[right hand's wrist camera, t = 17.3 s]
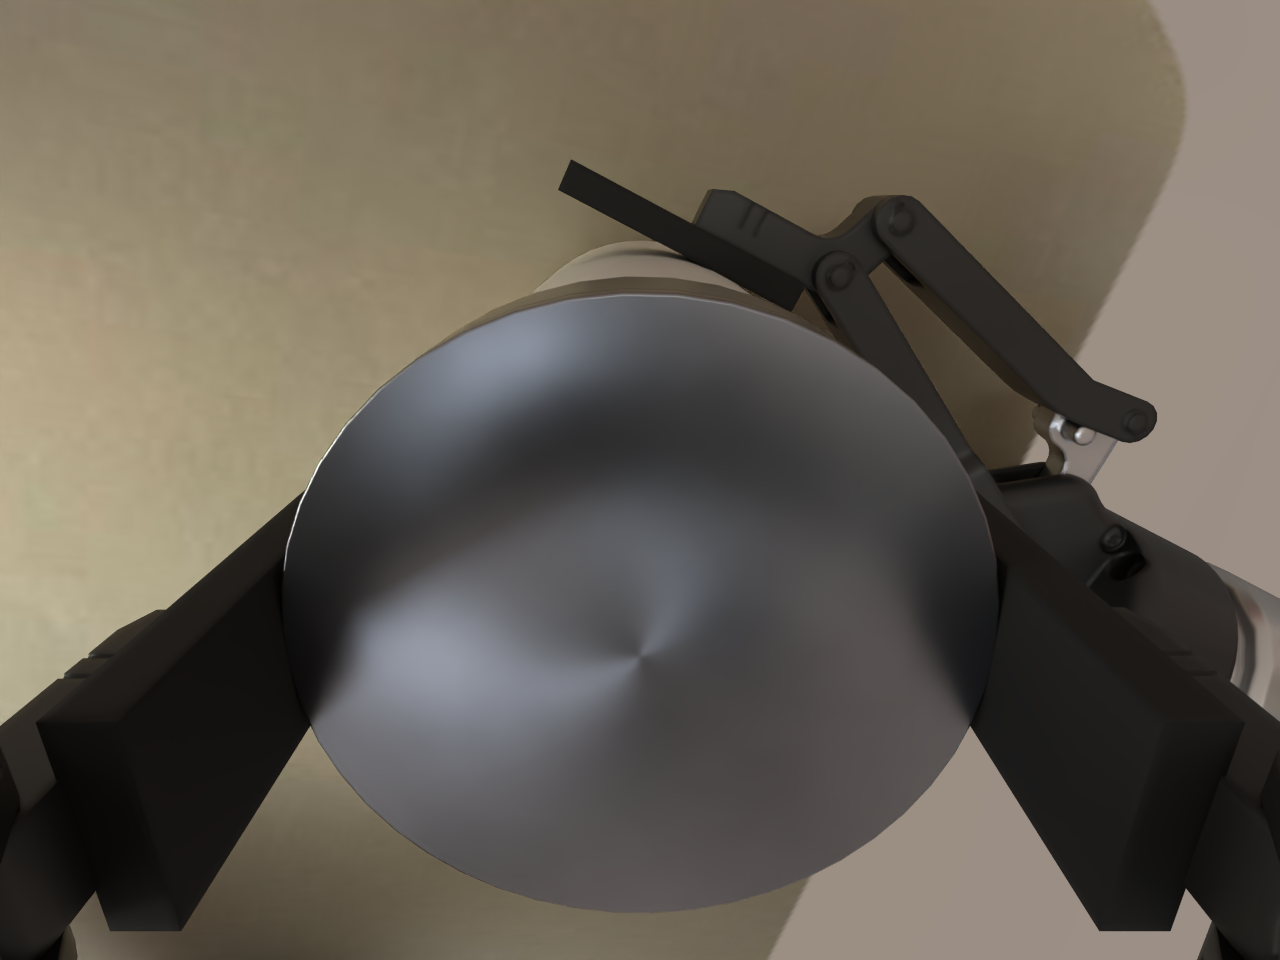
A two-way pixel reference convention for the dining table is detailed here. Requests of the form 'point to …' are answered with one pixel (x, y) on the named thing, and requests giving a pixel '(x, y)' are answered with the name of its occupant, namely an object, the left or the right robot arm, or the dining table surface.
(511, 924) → the dining table surface
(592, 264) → the jar
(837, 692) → the lid
